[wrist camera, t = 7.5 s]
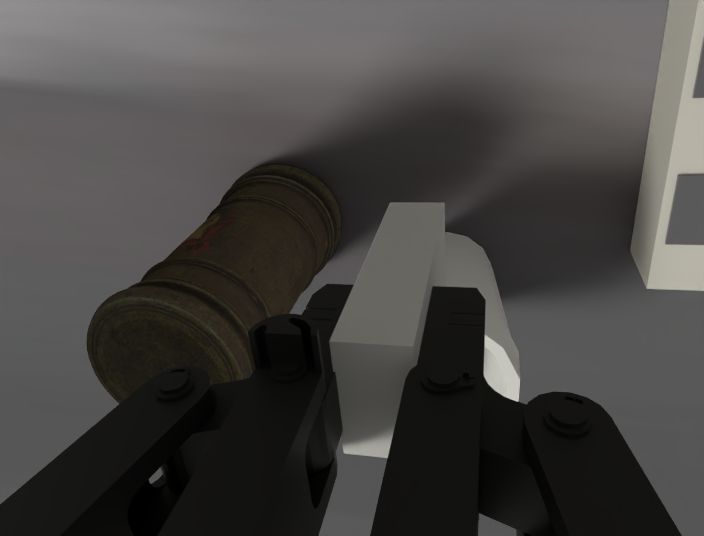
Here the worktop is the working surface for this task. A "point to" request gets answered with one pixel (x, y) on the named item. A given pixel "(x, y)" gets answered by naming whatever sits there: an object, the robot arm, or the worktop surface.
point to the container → (219, 283)
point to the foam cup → (476, 272)
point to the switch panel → (674, 160)
